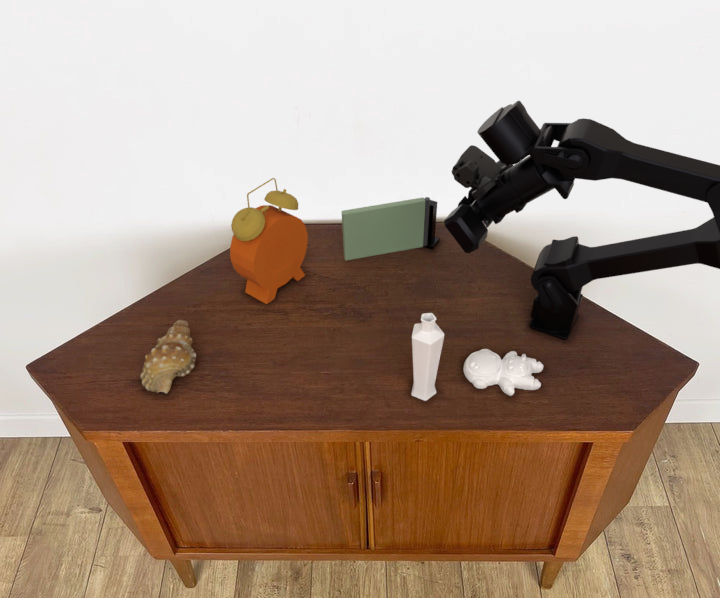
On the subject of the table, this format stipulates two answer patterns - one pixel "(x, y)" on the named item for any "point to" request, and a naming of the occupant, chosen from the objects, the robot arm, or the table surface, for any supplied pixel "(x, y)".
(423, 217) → the green flat slab
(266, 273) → the alarm clock
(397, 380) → the table surface
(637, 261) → the robot arm
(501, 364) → the astronaut figurine
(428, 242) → the door post
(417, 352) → the perfume bottle
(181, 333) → the seashell
